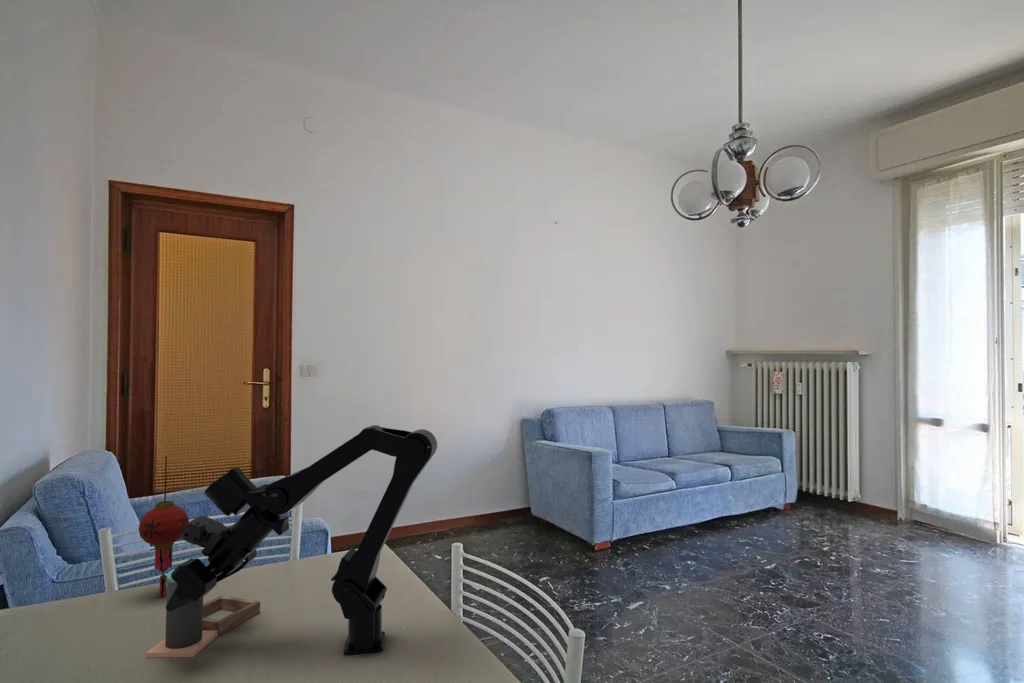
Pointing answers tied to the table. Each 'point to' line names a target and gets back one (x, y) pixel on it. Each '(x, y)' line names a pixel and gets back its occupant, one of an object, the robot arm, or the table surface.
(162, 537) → the lantern
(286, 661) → the table surface
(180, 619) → the teal-capped grey cylinder
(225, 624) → the open square brown frame
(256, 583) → the table surface
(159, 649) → the coaster
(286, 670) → the table surface
